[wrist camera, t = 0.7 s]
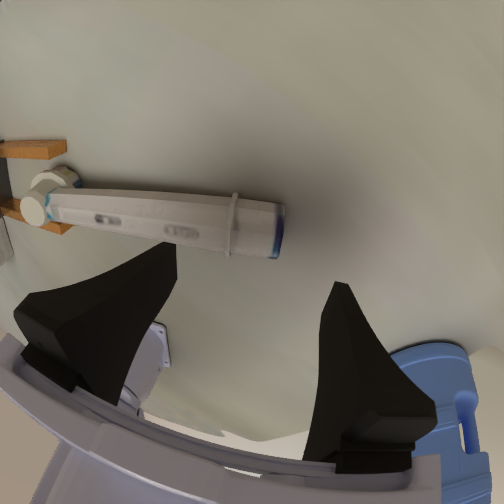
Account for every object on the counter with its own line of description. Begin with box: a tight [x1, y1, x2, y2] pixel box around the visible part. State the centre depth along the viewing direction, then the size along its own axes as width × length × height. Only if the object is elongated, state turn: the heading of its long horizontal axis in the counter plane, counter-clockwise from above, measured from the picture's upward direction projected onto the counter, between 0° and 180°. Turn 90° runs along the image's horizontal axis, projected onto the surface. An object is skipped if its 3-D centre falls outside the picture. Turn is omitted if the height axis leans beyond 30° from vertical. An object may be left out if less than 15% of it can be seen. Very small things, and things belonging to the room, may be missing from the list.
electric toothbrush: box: [20, 166, 285, 259], centre depth 21 cm, size 5×7×25 cm
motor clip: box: [0, 140, 74, 235], centre depth 22 cm, size 10×17×5 cm, turn 82°
